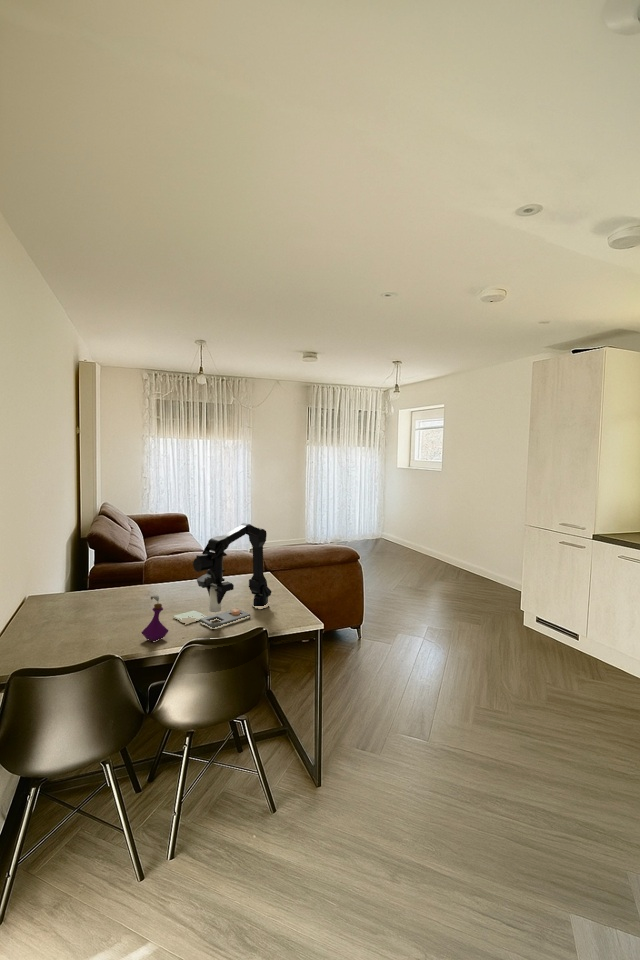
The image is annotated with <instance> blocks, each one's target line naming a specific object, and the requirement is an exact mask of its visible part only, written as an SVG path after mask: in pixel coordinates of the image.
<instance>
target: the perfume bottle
mask: <svg viewBox="0 0 640 960" xmlns="http://www.w3.org/2000/svg"><path fill="white" fill-rule="evenodd" d="M150 600H155V601H156V602H157V603H155V604H154V607H153V608H152V611H153V612H154V614H153V617H152V619H151V621H150V622H149V624H148V625H147V626H146V627H145V628H144V629H143V630H142V631H141V634H142V636H144V637H145V638H146V640H147V639H149V640H152V641H156V640H158V639H161V638H163V637H165V636H166V635H167V634H168V632H169V629H168V628H166V626H165V625H163V623H162V622H161V621H160V614H161V612H162V611H163V610H164V607H163V604H162V603H159V600H160V596H159V595H158V594H154V595H151V596H150ZM163 639H164V638H163ZM149 640H148V641H149ZM161 640H162V639H161ZM152 641H151V642H152Z"/></svg>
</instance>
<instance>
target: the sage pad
mask: <svg viewBox="0 0 640 960" xmlns="http://www.w3.org/2000/svg"><path fill="white" fill-rule="evenodd" d="M201 615H203V616H204V617H208V616H207V615H206V614H203V613H201V612H199V611H196V610H190V611H187V612H183V613H179V614H175V615H172V618H173V617H175V618H177V619H179V618H180V619H181V620H182V618H188V616H189V617H191V618H196V619H201V618H204V617H203V616H201ZM192 616H193V617H192ZM196 619H195V620H196Z"/></svg>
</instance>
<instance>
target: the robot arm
mask: <svg viewBox="0 0 640 960" xmlns="http://www.w3.org/2000/svg"><path fill="white" fill-rule="evenodd" d="M245 535H247V536H248V540H249V542H250V544H251V547H252V577H251V578H249V579H248V588H249V590H250V592H251V594H252V595H253V596H254V597H253V604H252V605H254V606H264V605H266V604H267V603H268V602H269V597H270V596H271V595H272V592H273V591H272V590H271V589H270V587H268V582H267V581H268V580H267V578H266V576H265V575H264V545H265V544H266V541H267V535H268V534H267V531H266V530H265V529H264V528H262V527H261V528H260V527H256V526H254V525H252V524H250V523H245V522H242V523H241V524H240V525H239V526H237V527H235V528H233V529H232V530H230V531H228V532H227V533H225V534H223V535H218V536H214V537H212V538H210V539H208V540H207V543H206V545H205V547H204V549H203V551H202V553H201V554H198V555H196V558H194V560H193V562H192V566H193V569H194V572H197V573H199V572H203V571H206V573H205V574H203V575H200V576H199V577H198V578H196V582H197V584H198V587H201V588H203V589H205V588H206V590H207V593H208V596H209V598H210V587H211V585H216V586H217V589H216V590H215V591H216V592H217V602H218V604H220V603H221V604H222V602H223V599H224V597H225V595H226V594H227V592H230V591H233V590H234V589H235V588H234V586H235V585H234V584H233V583H232V582H230V581H225V578H224V576H223V573H224V572H225V570H226V569H224V564H223V563H224V557H227V556H228V554H227V553H226V552H225V551H226V550H227V549H228V548H229V546H230V545H231V544H232V543H233V542H235V541H237V540H238V539H240V538H242V537H244V536H245ZM268 604H269V603H268Z"/></svg>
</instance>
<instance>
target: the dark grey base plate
mask: <svg viewBox="0 0 640 960" xmlns="http://www.w3.org/2000/svg"><path fill="white" fill-rule="evenodd" d="M234 609H235V608H233V609H230V610H226V611H224V612H221V613H217V614H213V615H210V616H207V617H206V618H202V619H200V621H199V623H200V622H202V623H205V624H207V625H208V626H210V627H212V628H215V627H218V626H221V625H223V624H227V623H230V622H233V621H236V620H238V619H241V618H245V617H247V616H250V617H251V614H250V613H249V612H247V611H244V610H242V609H239V608H238V609H239V610H240V614H241V615H237V616H233V615H231V610H234ZM216 618H217V619H219V620H221V621H220V622H219V621H215V622H210V620H214V619H216Z"/></svg>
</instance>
